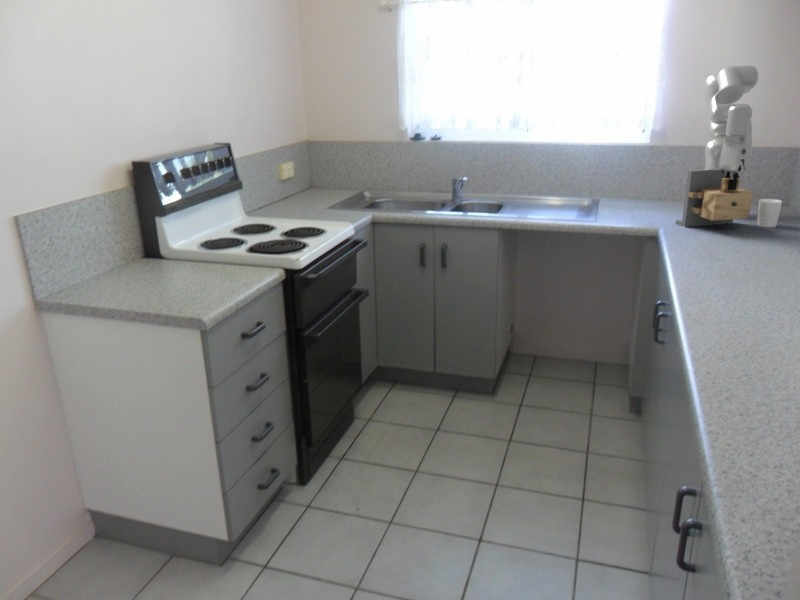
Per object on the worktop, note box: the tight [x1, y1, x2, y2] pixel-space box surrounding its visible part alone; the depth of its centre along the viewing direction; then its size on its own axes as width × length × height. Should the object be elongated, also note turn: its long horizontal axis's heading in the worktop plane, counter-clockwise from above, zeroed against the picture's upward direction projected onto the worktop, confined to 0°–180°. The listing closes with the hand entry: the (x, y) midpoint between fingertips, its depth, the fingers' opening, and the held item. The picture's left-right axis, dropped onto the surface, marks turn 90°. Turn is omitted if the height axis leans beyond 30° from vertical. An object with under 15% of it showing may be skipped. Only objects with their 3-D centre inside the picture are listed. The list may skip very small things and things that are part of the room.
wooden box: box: [699, 177, 754, 221], centre depth 253 cm, size 12×16×15 cm
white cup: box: [756, 198, 783, 228], centre depth 259 cm, size 8×8×10 cm
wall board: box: [675, 168, 735, 228], centre depth 261 cm, size 10×22×22 cm, turn 103°
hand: (729, 188), depth 250 cm, fingers closed on wooden box
